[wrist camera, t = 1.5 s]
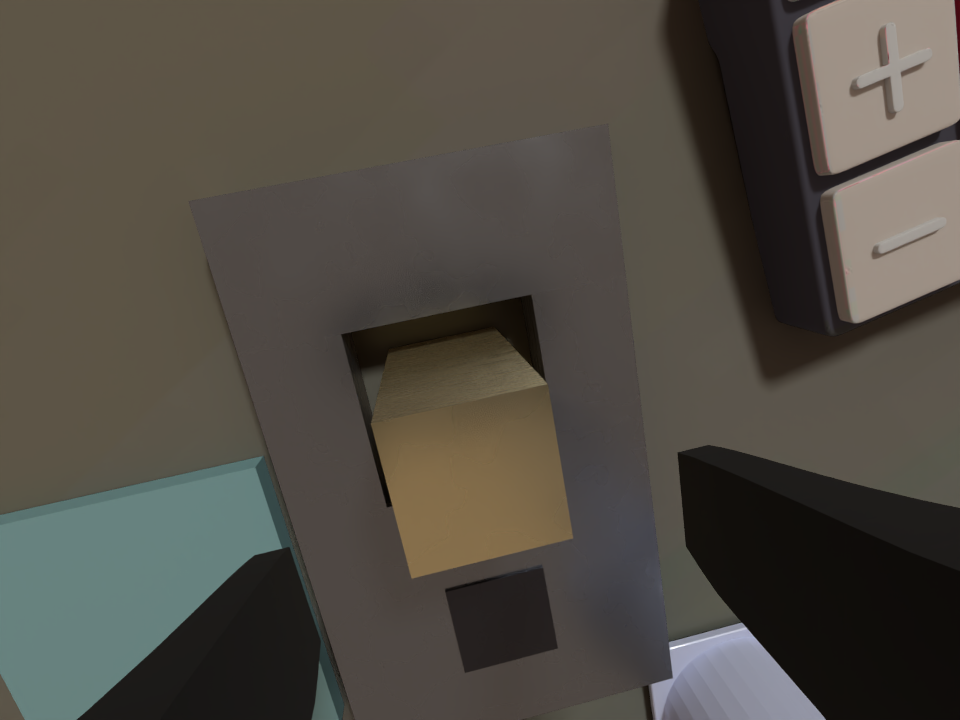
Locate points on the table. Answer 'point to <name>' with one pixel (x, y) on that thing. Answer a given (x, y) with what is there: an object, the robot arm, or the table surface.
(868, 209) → the calculator
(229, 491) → the pad
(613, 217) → the grey square-hole board
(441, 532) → the wooden block
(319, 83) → the table surface
